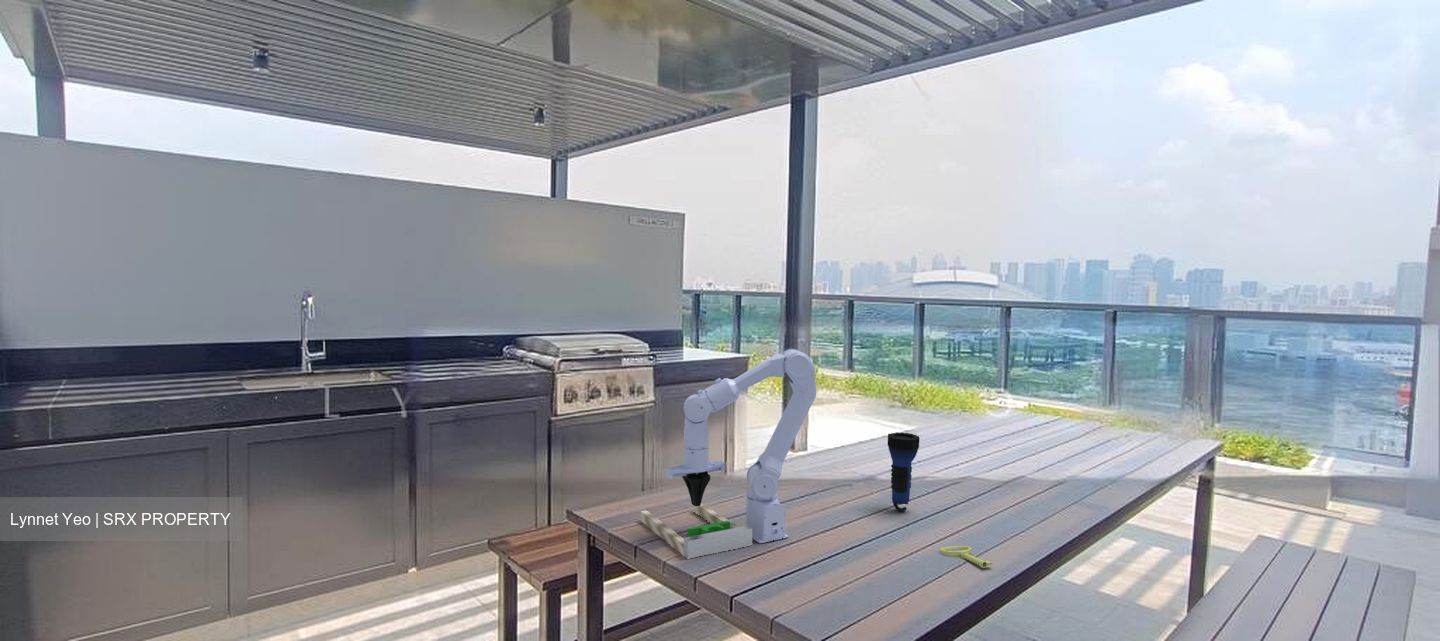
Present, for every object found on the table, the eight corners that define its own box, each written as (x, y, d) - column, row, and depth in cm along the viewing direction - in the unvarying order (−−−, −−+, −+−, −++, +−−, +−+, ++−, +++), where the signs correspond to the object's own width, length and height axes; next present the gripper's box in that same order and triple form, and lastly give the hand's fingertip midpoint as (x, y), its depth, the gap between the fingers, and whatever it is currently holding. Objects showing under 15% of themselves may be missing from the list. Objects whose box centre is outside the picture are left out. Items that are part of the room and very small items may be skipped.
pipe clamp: (694, 552, 140) (694, 533, 140) (687, 547, 143) (687, 528, 143) (735, 543, 145) (735, 524, 145) (727, 538, 148) (727, 520, 148)
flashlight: (917, 518, 163) (919, 440, 162) (884, 514, 165) (886, 437, 165) (918, 508, 170) (919, 433, 170) (887, 505, 173) (889, 431, 172)
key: (985, 573, 132) (985, 563, 132) (934, 553, 142) (935, 544, 142) (1005, 565, 136) (1005, 555, 136) (955, 547, 146) (955, 537, 146)
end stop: (752, 546, 144) (752, 528, 143) (687, 559, 136) (688, 541, 136) (747, 542, 145) (747, 525, 145) (683, 556, 138) (683, 537, 137)
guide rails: (747, 542, 145) (747, 532, 145) (683, 556, 138) (683, 544, 137) (698, 511, 166) (698, 501, 166) (640, 521, 158) (640, 511, 158)
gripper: (715, 440, 157) (715, 495, 157) (660, 446, 149) (660, 504, 150) (729, 446, 150) (729, 503, 151) (673, 453, 143) (673, 513, 144)
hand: (696, 504), depth 150 cm, fingers closed
